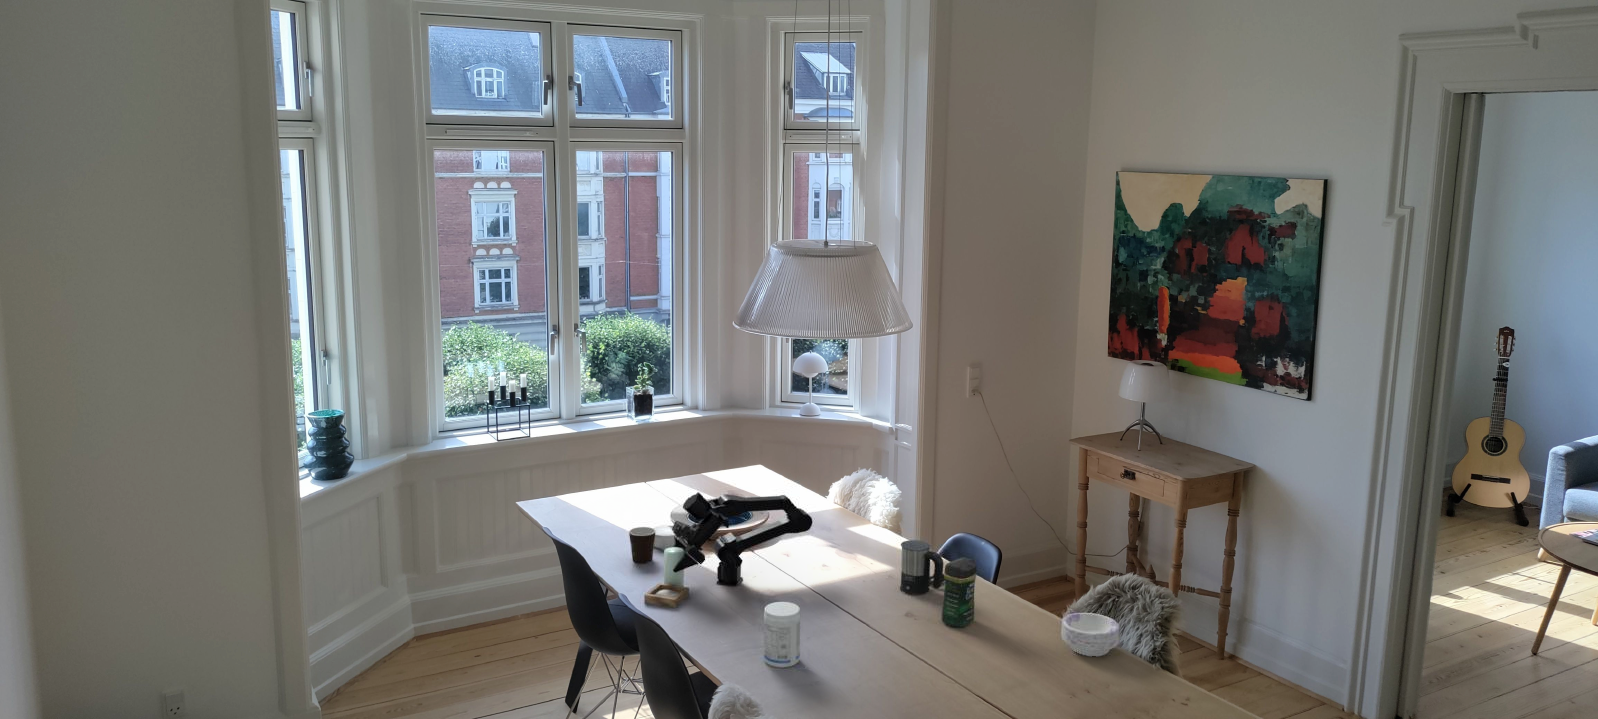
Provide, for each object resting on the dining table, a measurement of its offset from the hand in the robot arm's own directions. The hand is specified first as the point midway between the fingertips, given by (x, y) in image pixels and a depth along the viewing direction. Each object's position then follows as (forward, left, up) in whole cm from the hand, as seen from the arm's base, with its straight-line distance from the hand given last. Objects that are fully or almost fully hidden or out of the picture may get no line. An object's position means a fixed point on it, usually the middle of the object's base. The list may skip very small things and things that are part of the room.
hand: (670, 566), depth 332 cm
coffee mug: (+19, -20, -7) cm, 28 cm away
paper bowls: (-125, -3, -7) cm, 125 cm away
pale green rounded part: (-1, -1, -7) cm, 7 cm away
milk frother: (-73, -30, -7) cm, 79 cm away
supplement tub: (-49, +34, -7) cm, 60 cm away
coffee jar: (-88, -8, -7) cm, 88 cm away
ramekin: (+18, -35, -7) cm, 40 cm away
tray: (-3, +8, -7) cm, 11 cm away
